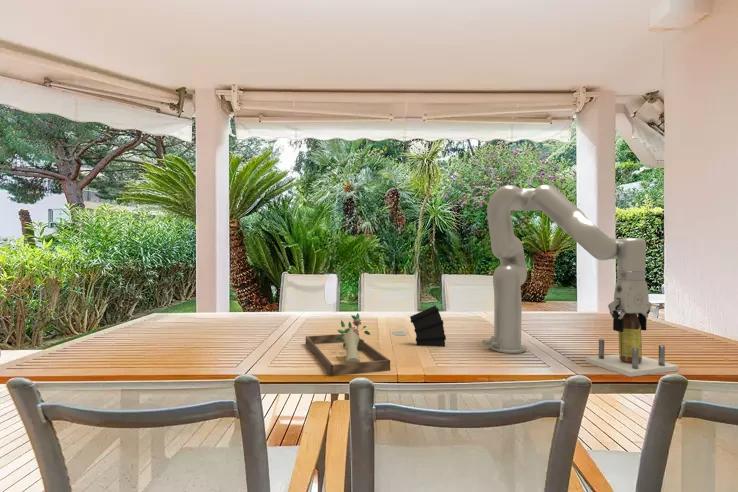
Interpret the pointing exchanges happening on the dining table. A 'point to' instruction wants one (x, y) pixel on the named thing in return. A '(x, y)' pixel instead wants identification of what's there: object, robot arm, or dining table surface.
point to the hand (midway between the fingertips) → (629, 330)
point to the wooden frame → (348, 368)
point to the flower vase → (352, 340)
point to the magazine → (429, 327)
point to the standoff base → (627, 366)
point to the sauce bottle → (630, 338)
